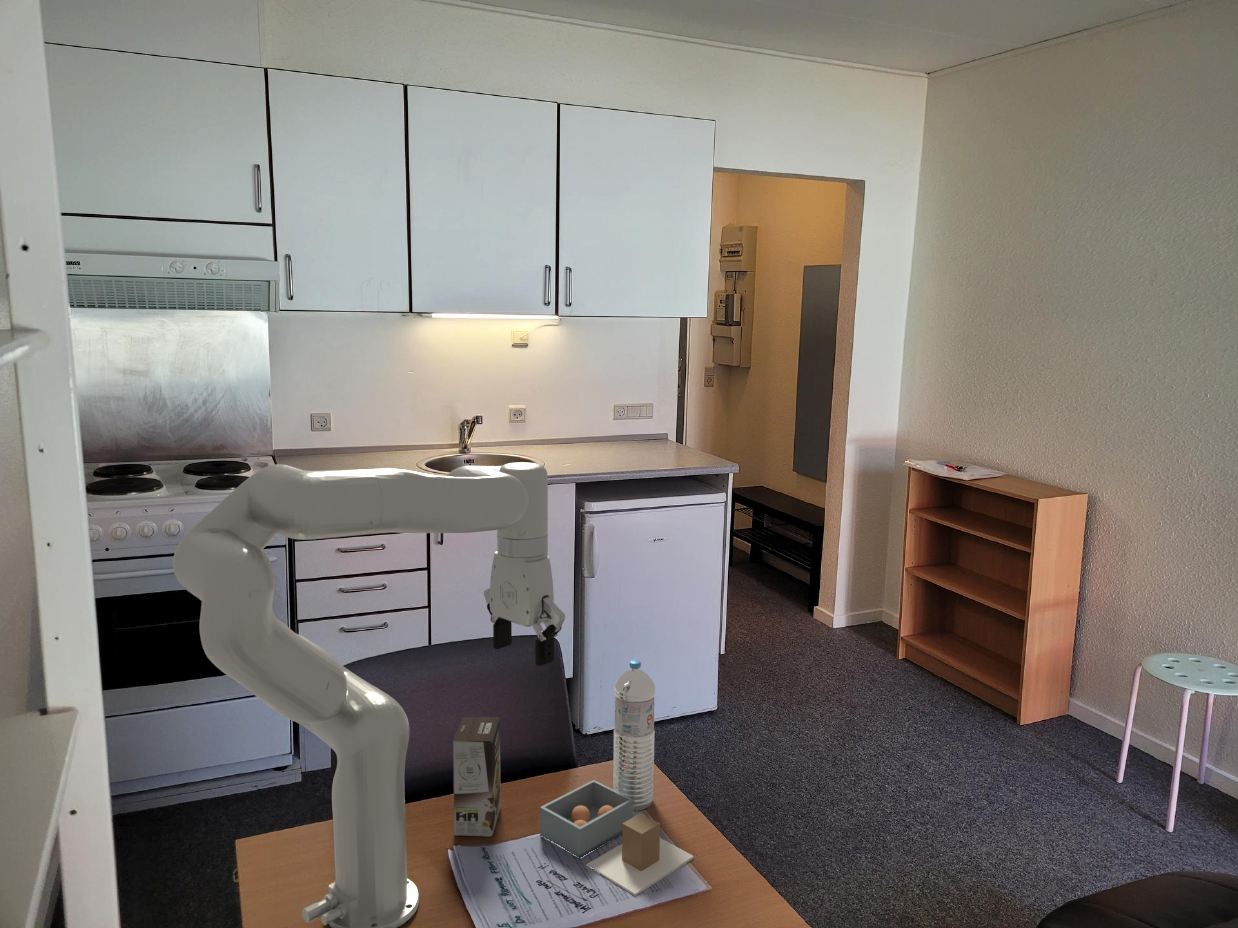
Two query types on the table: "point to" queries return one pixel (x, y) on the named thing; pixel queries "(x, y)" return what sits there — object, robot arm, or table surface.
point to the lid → (640, 856)
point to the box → (597, 829)
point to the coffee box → (476, 776)
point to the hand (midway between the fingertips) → (523, 654)
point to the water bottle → (634, 736)
